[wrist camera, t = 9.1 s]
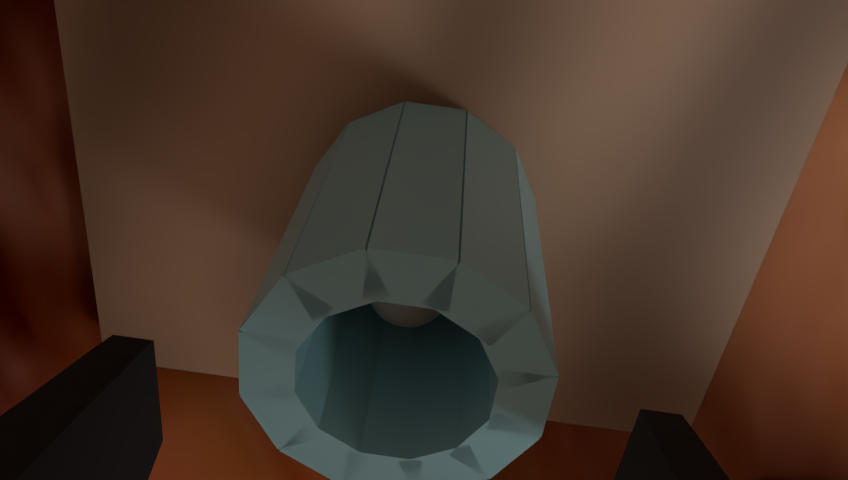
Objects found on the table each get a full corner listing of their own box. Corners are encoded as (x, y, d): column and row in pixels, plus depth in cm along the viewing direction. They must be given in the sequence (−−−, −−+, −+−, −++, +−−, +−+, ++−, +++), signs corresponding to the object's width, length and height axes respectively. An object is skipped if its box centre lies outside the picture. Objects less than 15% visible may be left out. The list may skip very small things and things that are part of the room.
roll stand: (857, -24, 14) (1014, 47, 10) (677, 413, 21) (728, 572, 16) (62, -134, 14) (-116, -111, 10) (119, 336, 21) (25, 474, 16)
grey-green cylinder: (552, 122, 15) (587, 278, 10) (509, 310, 18) (520, 511, 13) (319, 88, 15) (237, 229, 10) (309, 281, 18) (239, 471, 13)
